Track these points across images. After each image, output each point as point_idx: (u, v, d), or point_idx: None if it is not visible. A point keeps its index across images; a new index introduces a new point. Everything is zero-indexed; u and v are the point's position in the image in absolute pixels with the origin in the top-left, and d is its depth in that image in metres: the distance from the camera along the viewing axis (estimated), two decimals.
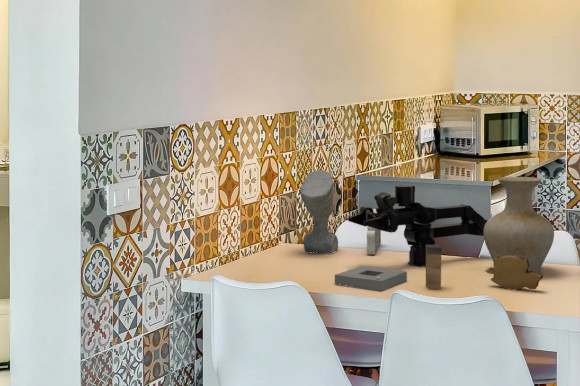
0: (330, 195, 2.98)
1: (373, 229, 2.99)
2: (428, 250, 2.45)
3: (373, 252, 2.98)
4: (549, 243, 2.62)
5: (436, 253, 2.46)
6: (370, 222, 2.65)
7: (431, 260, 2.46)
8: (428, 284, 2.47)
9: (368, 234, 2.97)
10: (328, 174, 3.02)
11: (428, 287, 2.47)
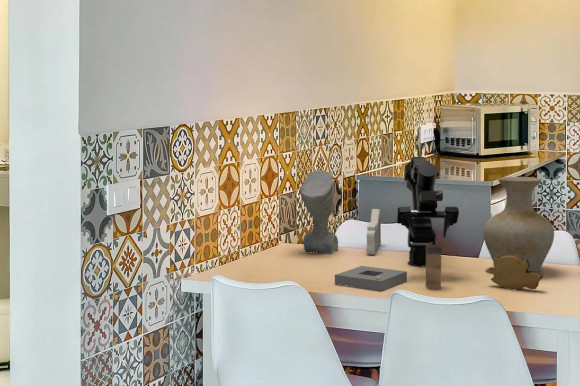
0: (330, 195, 2.98)
1: (373, 229, 2.99)
2: (428, 250, 2.45)
3: (373, 252, 2.98)
4: (549, 243, 2.62)
5: (436, 253, 2.46)
6: (446, 231, 2.57)
7: (431, 260, 2.46)
8: (428, 284, 2.47)
9: (368, 234, 2.97)
10: (328, 174, 3.02)
11: (428, 287, 2.47)
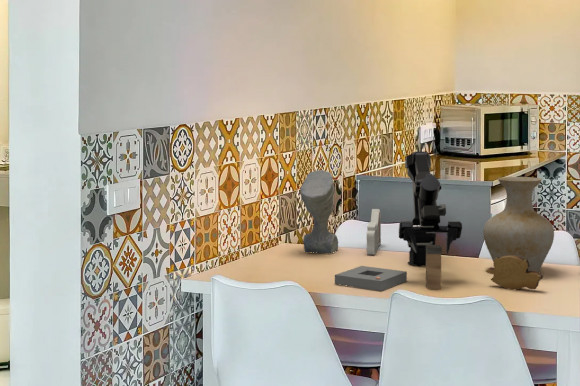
0: (330, 195, 2.98)
1: (373, 229, 2.99)
2: (428, 250, 2.45)
3: (373, 252, 2.98)
4: (549, 243, 2.62)
5: (436, 253, 2.46)
6: (449, 246, 2.52)
7: (431, 260, 2.46)
8: (428, 284, 2.47)
9: (368, 234, 2.97)
10: (328, 174, 3.02)
11: (428, 287, 2.47)
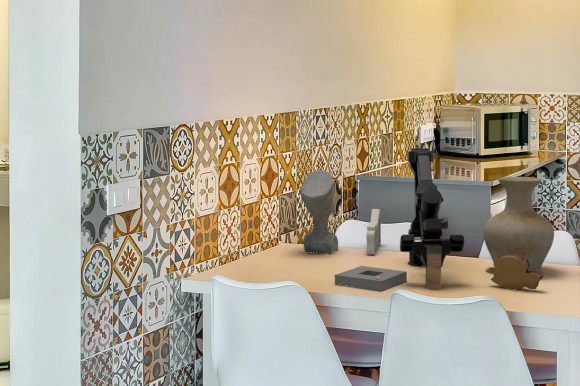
0: (330, 195, 2.98)
1: (373, 229, 2.99)
2: (428, 250, 2.45)
3: (373, 252, 2.98)
4: (549, 243, 2.62)
5: (436, 253, 2.46)
6: (443, 260, 2.48)
7: (431, 260, 2.46)
8: (428, 284, 2.47)
9: (368, 234, 2.97)
10: (328, 174, 3.02)
11: (428, 287, 2.47)
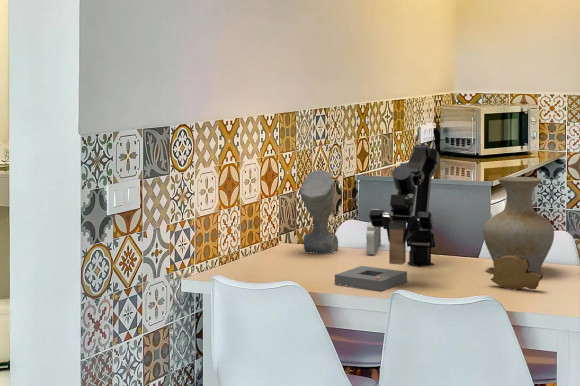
0: (330, 195, 2.98)
1: (373, 229, 2.99)
2: (390, 225, 2.48)
3: (373, 252, 2.98)
4: (549, 243, 2.62)
5: (397, 228, 2.48)
6: (407, 236, 2.49)
7: (393, 236, 2.48)
8: (390, 259, 2.50)
9: (368, 234, 2.97)
10: (328, 174, 3.02)
11: (390, 262, 2.50)
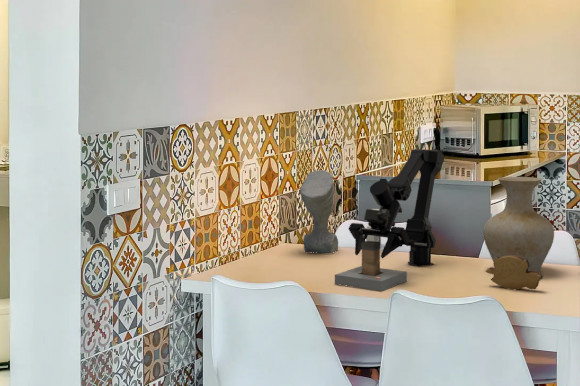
0: (330, 195, 2.98)
1: None
2: (362, 246, 2.54)
3: None
4: (549, 243, 2.62)
5: (369, 249, 2.53)
6: (386, 251, 2.52)
7: (365, 256, 2.54)
8: None
9: None
10: (328, 174, 3.02)
11: None
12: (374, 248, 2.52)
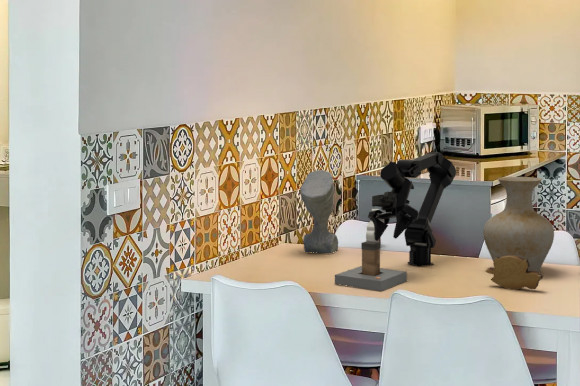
0: (330, 195, 2.98)
1: (372, 229, 2.99)
2: (362, 245, 2.54)
3: None
4: (549, 243, 2.62)
5: (369, 249, 2.53)
6: (397, 231, 2.59)
7: (365, 256, 2.54)
8: None
9: (367, 234, 2.97)
10: (328, 174, 3.02)
11: None
12: (374, 248, 2.52)
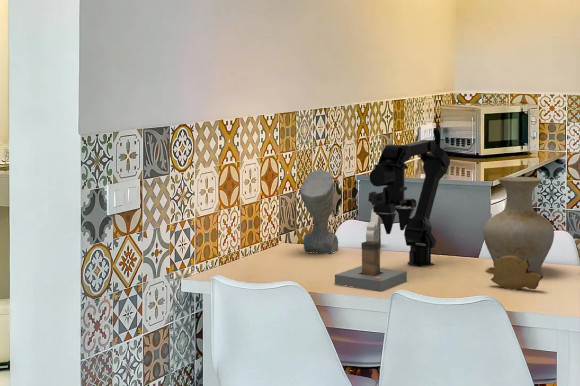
0: (330, 195, 2.98)
1: (372, 229, 2.99)
2: (362, 245, 2.54)
3: None
4: (549, 243, 2.62)
5: (369, 249, 2.53)
6: (386, 227, 2.65)
7: (365, 256, 2.54)
8: None
9: (367, 234, 2.97)
10: (328, 174, 3.02)
11: None
12: (374, 248, 2.52)
